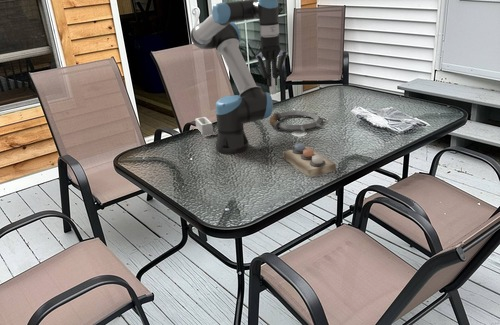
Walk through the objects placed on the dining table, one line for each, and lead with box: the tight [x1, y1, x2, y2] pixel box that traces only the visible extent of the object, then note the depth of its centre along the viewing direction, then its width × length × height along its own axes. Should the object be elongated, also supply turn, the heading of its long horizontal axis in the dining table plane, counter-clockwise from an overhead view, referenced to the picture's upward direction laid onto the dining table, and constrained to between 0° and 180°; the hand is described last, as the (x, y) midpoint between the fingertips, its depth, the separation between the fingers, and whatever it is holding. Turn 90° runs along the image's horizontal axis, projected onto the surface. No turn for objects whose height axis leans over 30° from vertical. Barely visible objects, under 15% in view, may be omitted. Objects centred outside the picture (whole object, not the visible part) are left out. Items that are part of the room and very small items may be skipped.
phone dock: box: [194, 116, 214, 135], centre depth 227 cm, size 5×12×6 cm, turn 22°
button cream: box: [312, 154, 324, 164], centre depth 175 cm, size 4×4×2 cm
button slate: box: [294, 142, 306, 151], centre depth 188 cm, size 4×4×2 cm
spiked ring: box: [268, 110, 328, 132], centre depth 230 cm, size 33×4×30 cm
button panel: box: [282, 145, 337, 178], centre depth 182 cm, size 12×22×4 cm, turn 22°
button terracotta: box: [303, 148, 315, 158], centre depth 181 cm, size 4×4×2 cm
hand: (272, 93), depth 187 cm, fingers closed
